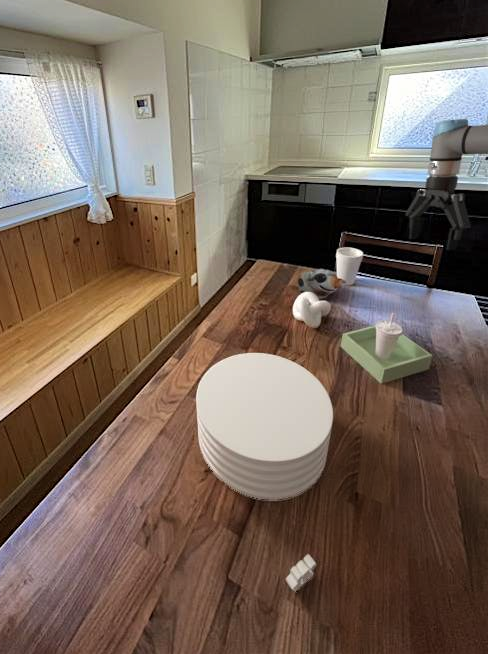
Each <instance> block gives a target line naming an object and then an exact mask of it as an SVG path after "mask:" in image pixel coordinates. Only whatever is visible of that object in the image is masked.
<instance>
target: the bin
mask: <svg viewBox="0 0 488 654" xmlns="http://www.w3.org/2000/svg"><path fill="white" fill-rule="evenodd" d="M375 326H376V324H375V325H371V326H368V327H363V328H360V329H356V330H351V331H347V332H345V333H342V335H341V337H342V338H341V341H340V348H342V350H343V351H344V352H346V353H347V355H349V356H350V357H351V358H352V359H353V360H354V361H356V363H358V364H359V365H360V366H361V367H362V368H363V369H364V370H365V371H366V372H368V373H369V374H370V375H371V376H372V377H373V378H374V379H375V380H376V381H377V382H378V383H379V384H385V383H389V382H391V381H395V380H398V379H402V378H405V377H408V376H412V375H416V374H418V373H422V372H425V371H428V370H430V367H431V364H432V360H433V357H434V354H432V353H431V352H428V351H427V349H424V348H423V347H422V346H420V345H419V344H418V343H416V342H414V341H413V340H412V339H410V338H409V337H407V336H406V335H405V334H403V333H402V335H401V336H399V339H398V341H397V343H396V345H395V348H394V350H393V352H392V354H391V357H390V358H389V359H387V360H385V359H381V358H379V357H377V356H376V354H375V350H376V328H375Z"/></svg>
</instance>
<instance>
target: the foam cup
mask: <svg viewBox="0 0 488 654" xmlns="http://www.w3.org/2000/svg"><path fill="white" fill-rule="evenodd" d="M363 257H364V252H363V251H362V250H361V249H358V248H354V247H348V246H347V247H346V246H345V247H339V248H337V249H336V253H335V258H336V275H337V277H338V278H340V279H342V280H344V281H346V284H345V285H344V286H352V285H354V284H355V281H356V278H357V276H358V272H359V270H360V266H361V263H362V261H363V259H364V258H363Z"/></svg>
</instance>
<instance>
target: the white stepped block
mask: <svg viewBox="0 0 488 654" xmlns="http://www.w3.org/2000/svg"><path fill="white" fill-rule="evenodd" d="M317 565H318V564H317V563H316V561H315V560H314V559H313V557H312V556H311V555H310V554H309V553H308V554H306V555H305V556H304V557H303V559H300V560H299V561H298V562H297V563H296V565H293V566H292V567H291V569H290V571H289V574H288V575H286V577H285V582H286V583H287V584H288V586H289V587H290V589H291V590H292V591H293V592H294V591H295V592H296V591H297V590H298V589H299V588H300V587H301V588H302V585H303V584H304V583H306V582H307V581H308V580H309V579H310V578H311V577H312V576H313V575H314V576H315V574H314V573H315V572H313V571H314V570H315V568H316V566H317ZM314 576H313V577H312V578H311V579H310V580H309V581H308V582H310V581H311V580H312V579H313V578H314ZM307 579H308V580H307ZM308 582H307V583H308ZM307 583H306V584H307ZM301 588H300V589H301ZM300 589H299V590H300ZM295 592H294V593H295ZM296 593H297V592H296Z"/></svg>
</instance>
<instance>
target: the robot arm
mask: <svg viewBox="0 0 488 654" xmlns="http://www.w3.org/2000/svg"><path fill="white" fill-rule="evenodd" d="M430 150H431V151H430V154H429V155H430V156H429V162H428V168H427V174H428V176H427V177H426V181H425V187H424V189H422V188H421V189H417V191H416V194H415V196H414V198H413V200H412V202H411V204H410V205H409V207H408V208H407V210H406V212H405V214H404V215H405V216H406V217H408V218H409V235H408V239H409V240H416V239H418V238H419V231H420V227H421V226H420V225H421V216H422V215H423V214H424V213H425V212H426V211H427V210H428V209H430V208H431V207H436V208H440V209H441V210H442V211H443V212H444V214H445V216H446V217H447V219H448V221H449V223H450V225H451V228H449V231H448V236H447V243H446V248H445V250H446V251H455V250H457V248H458V247H457V246H458V242H459V241H460V240H461V237H462V233H463V230H464V229H468V228H469V229H470V228H471V226H472V224H471V221H470V218H469V217H470V216H469V214H468V211H467V207H466V203H465V199H466V197H465V194H464V193H457V194H455V190H456V188H457V185H458V181H459V177H458V176H457V175H459V174H460V169H461V164H462V158H463V155H488V124H483V125H481V124H480V125H469V120H468V119H467V118H459V119H447V120H446V119H445V120H440V121H438V122H437V123H436V124H435V126H434V130H433V136H432V141H431V149H430Z"/></svg>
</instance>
